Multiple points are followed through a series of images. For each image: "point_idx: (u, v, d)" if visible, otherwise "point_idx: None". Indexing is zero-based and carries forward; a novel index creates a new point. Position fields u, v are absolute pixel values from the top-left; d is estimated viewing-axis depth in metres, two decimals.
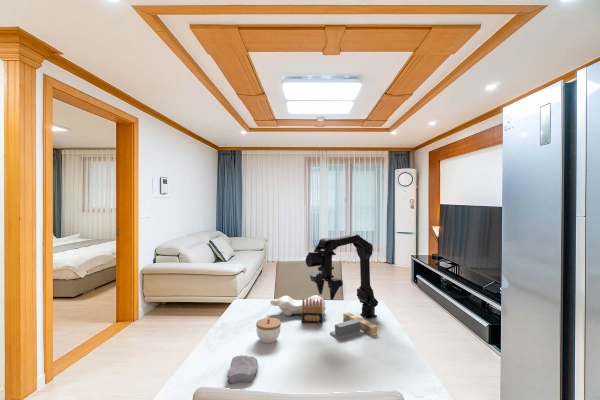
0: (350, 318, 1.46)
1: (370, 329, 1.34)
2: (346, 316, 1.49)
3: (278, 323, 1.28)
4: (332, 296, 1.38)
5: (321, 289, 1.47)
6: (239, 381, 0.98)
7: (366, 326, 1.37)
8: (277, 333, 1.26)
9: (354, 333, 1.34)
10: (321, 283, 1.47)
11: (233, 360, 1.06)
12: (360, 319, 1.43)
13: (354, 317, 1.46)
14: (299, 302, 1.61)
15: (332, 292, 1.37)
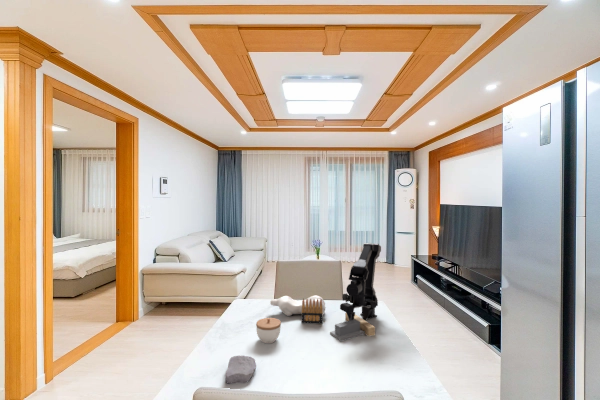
0: None
1: (367, 330, 1.34)
2: (347, 315, 1.49)
3: (278, 323, 1.28)
4: None
5: (364, 317, 1.45)
6: (237, 381, 0.98)
7: (364, 326, 1.36)
8: (277, 333, 1.26)
9: (354, 333, 1.34)
10: (366, 312, 1.45)
11: (231, 360, 1.05)
12: (360, 319, 1.43)
13: (355, 317, 1.46)
14: (299, 302, 1.61)
15: (348, 316, 1.41)
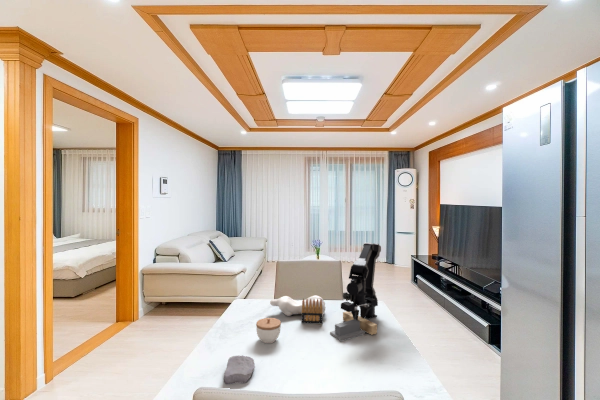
0: (350, 317, 1.46)
1: (370, 328, 1.34)
2: (346, 315, 1.48)
3: (278, 323, 1.28)
4: None
5: (362, 316, 1.44)
6: (235, 381, 0.98)
7: (366, 324, 1.36)
8: (277, 333, 1.26)
9: (354, 333, 1.34)
10: (363, 311, 1.44)
11: (229, 360, 1.05)
12: (360, 318, 1.43)
13: None
14: (299, 302, 1.61)
15: (353, 314, 1.42)
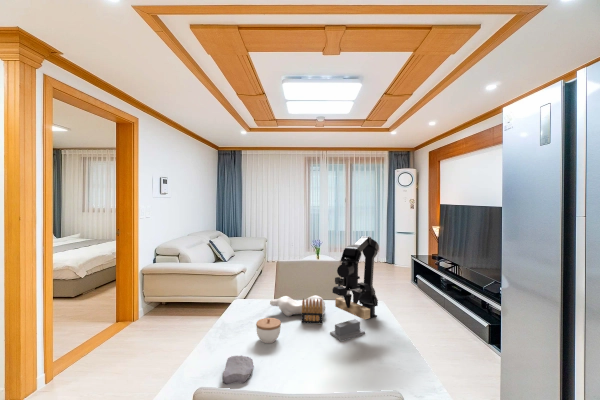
0: (342, 302, 1.40)
1: (363, 312, 1.29)
2: (338, 301, 1.43)
3: (278, 323, 1.28)
4: (346, 304, 1.36)
5: (355, 301, 1.38)
6: (234, 381, 0.98)
7: (359, 309, 1.31)
8: (277, 333, 1.26)
9: (354, 333, 1.34)
10: (356, 296, 1.38)
11: (228, 360, 1.05)
12: (353, 303, 1.37)
13: None
14: (299, 302, 1.61)
15: (345, 299, 1.37)
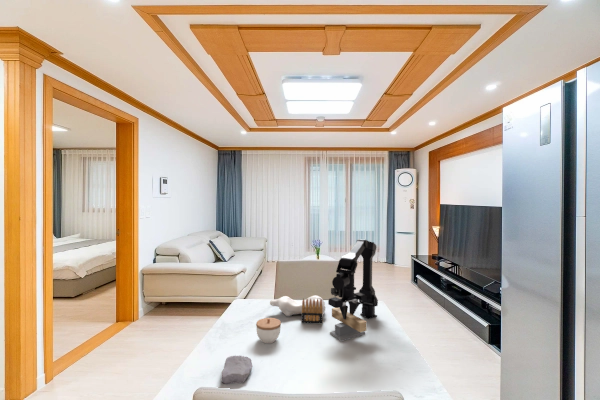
0: (339, 313, 1.38)
1: (359, 325, 1.26)
2: (335, 311, 1.41)
3: (278, 323, 1.28)
4: (343, 315, 1.34)
5: (351, 312, 1.36)
6: (233, 381, 0.98)
7: (355, 321, 1.29)
8: (277, 333, 1.26)
9: (354, 333, 1.34)
10: (352, 307, 1.36)
11: (227, 360, 1.05)
12: (349, 314, 1.35)
13: None
14: (299, 302, 1.61)
15: (341, 311, 1.34)
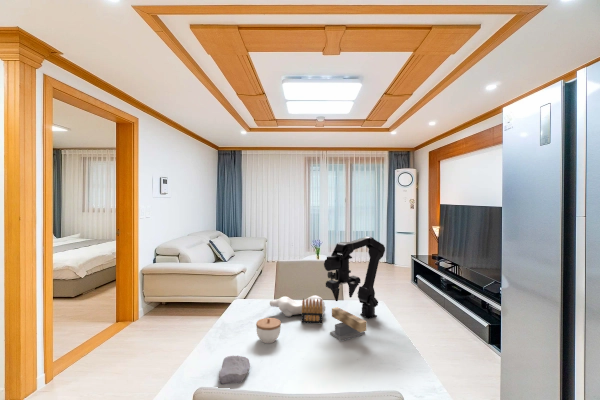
0: (339, 313, 1.38)
1: (359, 325, 1.26)
2: (335, 311, 1.41)
3: (278, 323, 1.28)
4: (335, 297, 1.44)
5: (350, 293, 1.49)
6: (230, 381, 0.98)
7: (355, 321, 1.29)
8: (277, 333, 1.26)
9: (354, 333, 1.34)
10: (351, 287, 1.49)
11: (225, 360, 1.05)
12: (349, 314, 1.35)
13: (343, 312, 1.38)
14: (298, 302, 1.61)
15: (333, 293, 1.44)
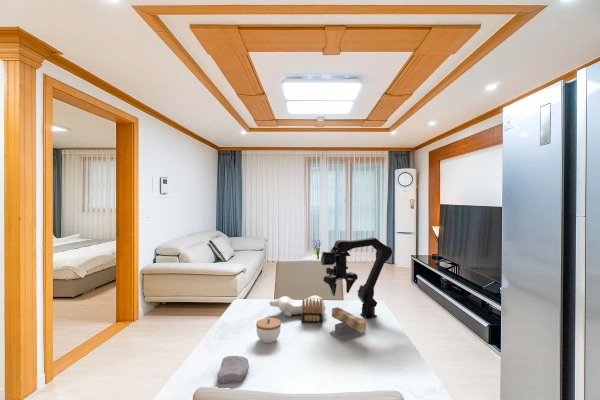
0: (339, 313, 1.38)
1: (359, 325, 1.26)
2: (335, 311, 1.41)
3: (278, 323, 1.28)
4: (332, 292, 1.51)
5: (348, 288, 1.56)
6: (229, 381, 0.98)
7: (355, 321, 1.29)
8: (277, 333, 1.26)
9: (354, 333, 1.34)
10: (349, 283, 1.56)
11: (223, 360, 1.05)
12: (349, 314, 1.35)
13: (343, 312, 1.38)
14: (298, 302, 1.61)
15: (331, 288, 1.51)
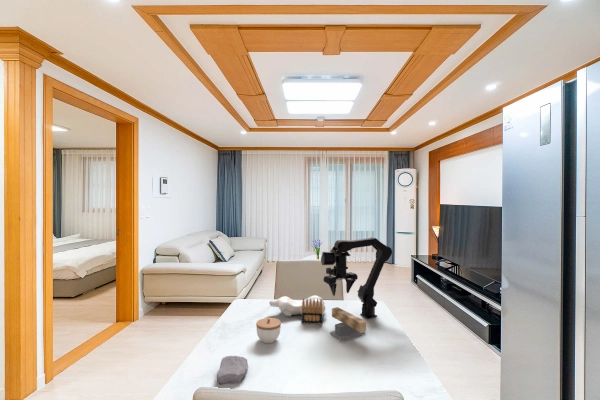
0: (339, 313, 1.38)
1: (359, 325, 1.26)
2: (335, 311, 1.41)
3: (278, 323, 1.28)
4: (332, 292, 1.51)
5: (348, 288, 1.56)
6: (228, 381, 0.98)
7: (355, 321, 1.29)
8: (277, 333, 1.26)
9: (354, 333, 1.34)
10: (349, 283, 1.56)
11: (223, 360, 1.05)
12: (349, 314, 1.35)
13: (343, 312, 1.38)
14: (298, 302, 1.61)
15: (331, 288, 1.51)
